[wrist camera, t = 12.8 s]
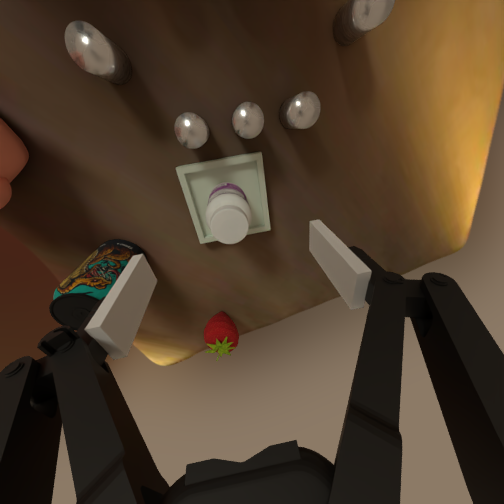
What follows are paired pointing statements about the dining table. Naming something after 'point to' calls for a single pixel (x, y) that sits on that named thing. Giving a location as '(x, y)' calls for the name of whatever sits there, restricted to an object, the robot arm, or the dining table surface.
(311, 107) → the posts
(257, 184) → the tray
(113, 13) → the dining table surface
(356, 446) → the robot arm
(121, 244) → the beverage can
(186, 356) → the dining table surface
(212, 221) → the pill bottle
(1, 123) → the teapot
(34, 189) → the dining table surface
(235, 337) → the strawberry
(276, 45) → the dining table surface
